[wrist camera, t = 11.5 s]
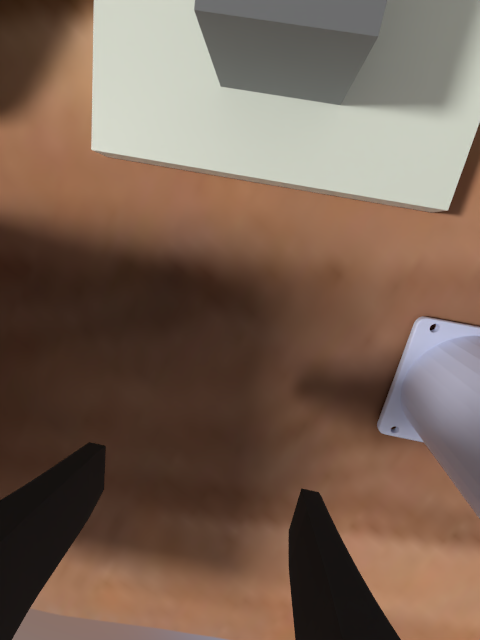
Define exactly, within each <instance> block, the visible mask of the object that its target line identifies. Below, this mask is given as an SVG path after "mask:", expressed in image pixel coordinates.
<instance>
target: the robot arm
mask: <svg viewBox="0 0 480 640" xmlns="http://www.w3.org/2000/svg"><path fill="white" fill-rule="evenodd" d="M433 324H436V327H435V329H433V330H430V326H431V325H433ZM394 426H396V428H395V429H391V428H392V427H394ZM377 427H378V429H379V431H380V432H381V433H383V434H386V435H391V436H395V437H400V438H405V439H410V440H415V441H420V442H424V443H425V444H426V446H427V447H428V448H429V450H430V451H431V453H432V454H433V455H434V457H435V458H436V459H437V461H438V462H439V464H440V465H441V466H442V468H443V469H444V470H445V472H446V473H447V475H448V476H449V477H450V479H451V480H452V481H453V483H454V484H455V486H456V487H457V488H458V490H459V491H460V492H461V494H462V495H463V497H464V498H465V499H466V501H467V502H468V503H469V505H470V506H471V508H472V509H473V510H474V512H475V513H476V515H477V516H478V517H479V519H480V327H479V326H473V325H468V324H463V323H457V322H452V321H447V320H441V319H436V318H431V317H420V318H418V319H417V320H416V321H415V322H414V325H413V328H412V330H411V333H410V336H409V338H408V341H407V344H406V347H405V349H404V352H403V355H402V358H401V360H400V363H399V366H398V368H397V371H396V374H395V377H394V379H393V382H392V385H391V387H390V390H389V393H388V396H387V398H386V401H385V404H384V407H383V409H382V412H381V415H380V417H379V420H378V423H377ZM105 448H106V446H104V445H99V444H95V443H90V442H89V443H88V444H86V445H85V446H83V447H82V448H80V449H79V450H77V451H76V452H74V453H73V454H71V455H70V456H68V457H67V458H66V459H64V460H63V461H61V462H60V463H58V464H57V465H55V466H54V467H52V468H51V469H49V470H48V471H46V472H45V473H43V474H42V475H40V476H38V477H37V478H35V479H34V480H32V481H31V482H29V483H28V484H26V485H25V486H23V487H21V488H20V489H18V490H17V491H15V492H13V493H12V494H10V495H8V496H7V497H5V498H3V499H2V500H0V640H12V638H13V636H14V635H15V633H16V631H17V629H18V628H19V626H20V624H21V622H22V621H23V619H24V617H25V615H26V613H27V612H28V610H29V609H30V607H31V605H32V604H33V602H34V601H35V599H36V597H37V596H38V594H39V593H40V591H41V590H42V588H43V587H44V585H45V584H46V582H47V581H48V579H49V578H50V576H51V575H52V573H53V572H54V570H55V569H56V567H57V566H58V564H59V563H60V561H61V560H62V558H63V557H64V555H65V554H66V552H67V551H68V549H69V548H70V546H71V545H72V543H73V542H74V540H75V539H76V537H77V536H78V534H79V533H80V531H81V529H82V528H83V526H84V525H85V523H86V522H87V520H88V519H89V517H90V515H91V513H92V511H93V509H94V507H95V506H96V504H97V502H98V500H99V498H100V496H101V494H102V492H103V490H104V473H105ZM289 574H290V586H291V597H292V607H293V618H294V628H295V639H296V640H401V639H400V638H399V636H398V635H397V633H396V632H395V630H394V629H393V627H392V626H391V624H390V622H389V621H388V619H387V618H386V616H385V615H384V613H383V611H382V610H381V608H380V607H379V605H378V603H377V602H376V600H375V598H374V597H373V595H372V593H371V592H370V590H369V588H368V586H367V585H366V583H365V581H364V580H363V578H362V576H361V574H360V572H359V571H358V569H357V567H356V565H355V563H354V562H353V560H352V558H351V556H350V554H349V552H348V550H347V548H346V546H345V545H344V543H343V541H342V539H341V537H340V535H339V533H338V531H337V529H336V527H335V525H334V523H333V521H332V519H331V516H330V514H329V512H328V510H327V508H326V506H325V504H324V501H323V499H322V497H321V495H320V494H319V492H315V491H310V490H306V489H301V492H300V495H299V499H298V502H297V505H296V509H295V512H294V515H293V519H292V522H291V525H290V529H289Z"/></svg>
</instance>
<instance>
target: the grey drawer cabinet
mask: <svg viewBox="0 0 480 640" xmlns="http://www.w3.org/2000/svg"><path fill="white" fill-rule="evenodd" d="M386 4H387V0H195V6H194V11H195V14H196V17H197V20H198V23H199V26H200V28H201V31H202V34H203V37H204V40H205V43H206V46H207V49H208V52H209V54H210V57H211V60H212V63H213V66H214V69H215V72H216V75H217V77H218V80H219V83H220V86H221V87H226V88H233V89H239V90H246V91H252V92H259V93H265V94H271V95H278V96H284V97H291V98H297V99H303V100H310V101H316V102H323V103H329V104H335V105H341V103H342V102H343V100H344V98H345V96H346V94H347V92H348V91H349V89H350V87H351V85H352V83H353V82H354V80H355V78H356V76H357V74H358V72H359V71H360V69H361V67H362V65H363V63H364V62H365V60H366V58H367V56H368V54H369V53H370V51H371V49H372V47H373V45H374V43H375V42H376V40H377V38H378V36H379V32H380V28H381V24H382V20H383V16H384V12H385V8H386Z"/></svg>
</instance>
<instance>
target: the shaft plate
mask: <svg viewBox="0 0 480 640" xmlns="http://www.w3.org/2000/svg"><path fill="white" fill-rule="evenodd" d="M194 6H195V0H94V25H93V88H92V150H93V151H95V152H97V153H100V154H102V155H104V156H106V157H111V158H117V159H123V160H128V161H134V162H140V163H146V164H152V165H158V166H163V167H169V168H175V169H181V170H187V171H193V172H198V173H204V174H210V175H216V176H222V177H228V178H233V179H239V180H245V181H251V182H257V183H263V184H268V185H274V186H280V187H286V188H292V189H298V190H303V191H309V192H315V193H321V194H327V195H333V196H338V197H344V198H350V199H356V200H362V201H368V202H373V203H379V204H385V205H391V206H397V207H403V208H408V209H414V210H420V211H426V212H440V211H448V209H449V206H450V203H451V201H452V198H453V195H454V192H455V189H456V187H457V184H458V181H459V178H460V176H461V173H462V170H463V167H464V164H465V162H466V159H467V156H468V153H469V151H470V148H471V145H472V142H473V139H474V137H475V134H476V131H477V128H478V126H479V123H480V0H387V4H386V8H385V12H384V16H383V20H382V24H381V28H380V32H379V36H378V38H377V40H376V42H375V43H374V45H373V47H372V49H371V51H370V53H369V54H368V56H367V58H366V60H365V62H364V63H363V65H362V67H361V69H360V71H359V72H358V74H357V76H356V78H355V80H354V82H353V83H352V85H351V87H350V89H349V91H348V92H347V94H346V96H345V98H344V100H343V102H342V103H341V105H335V104H329V103H323V102H316V101H310V100H303V99H297V98H291V97H284V96H278V95H271V94H265V93H259V92H252V91H246V90H239V89H233V88H226V87H221V86H220V83H219V80H218V77H217V75H216V72H215V69H214V66H213V63H212V60H211V57H210V54H209V52H208V49H207V46H206V43H205V40H204V37H203V34H202V31H201V28H200V26H199V23H198V20H197V17H196V14H195V11H194Z"/></svg>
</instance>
